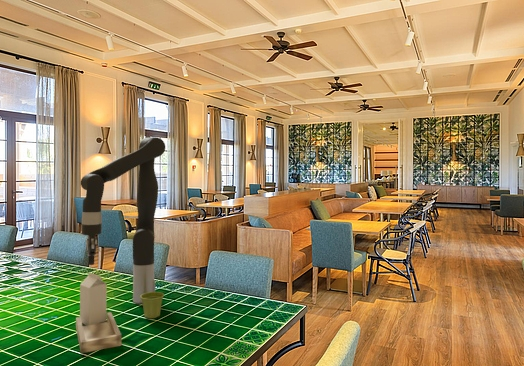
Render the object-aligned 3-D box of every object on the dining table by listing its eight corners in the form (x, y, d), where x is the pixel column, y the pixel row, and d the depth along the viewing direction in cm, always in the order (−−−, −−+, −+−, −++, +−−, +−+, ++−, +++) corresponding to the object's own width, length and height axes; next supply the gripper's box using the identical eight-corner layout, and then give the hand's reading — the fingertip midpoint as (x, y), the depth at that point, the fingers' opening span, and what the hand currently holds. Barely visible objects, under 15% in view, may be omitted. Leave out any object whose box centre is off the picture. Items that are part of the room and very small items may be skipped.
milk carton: (89, 327, 148) (89, 277, 147) (79, 322, 152) (79, 274, 151) (106, 321, 153) (106, 273, 153) (96, 317, 158) (97, 270, 157)
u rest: (111, 320, 154) (111, 312, 154) (121, 345, 132) (121, 335, 132) (75, 326, 148) (75, 317, 148) (80, 353, 126) (80, 342, 126)
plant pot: (139, 313, 162) (139, 292, 162) (162, 310, 166) (162, 290, 166) (140, 321, 154) (141, 299, 153) (165, 318, 157) (165, 297, 157)
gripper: (103, 224, 156) (102, 267, 156) (99, 220, 167) (99, 260, 168) (83, 225, 152) (82, 269, 152) (80, 221, 163) (79, 261, 164)
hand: (91, 264), depth 160 cm, fingers closed
